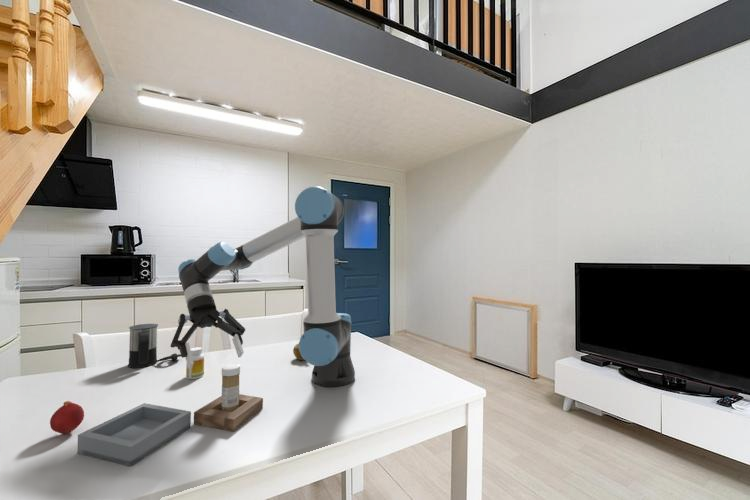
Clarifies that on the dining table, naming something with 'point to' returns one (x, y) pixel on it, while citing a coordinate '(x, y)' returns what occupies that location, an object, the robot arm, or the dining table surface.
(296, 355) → the onion
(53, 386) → the dining table surface
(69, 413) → the onion
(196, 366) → the supplement bottle
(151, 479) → the dining table surface
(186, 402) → the dining table surface
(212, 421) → the walnut holder
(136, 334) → the milk frother
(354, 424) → the dining table surface
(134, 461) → the grey tray
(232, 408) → the sprinkles bottle
